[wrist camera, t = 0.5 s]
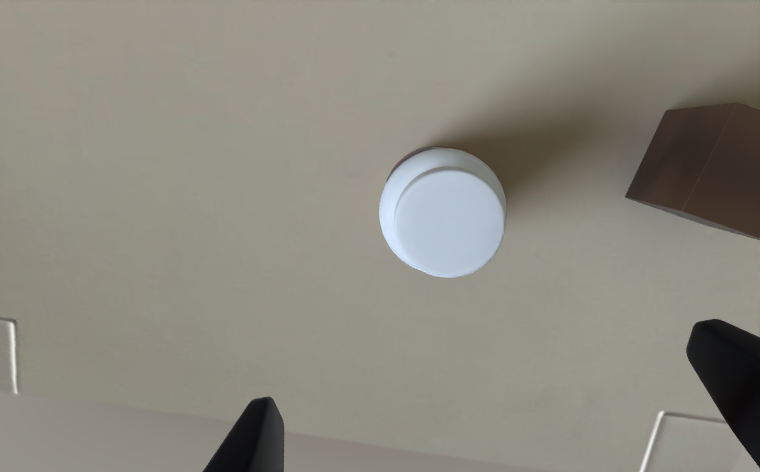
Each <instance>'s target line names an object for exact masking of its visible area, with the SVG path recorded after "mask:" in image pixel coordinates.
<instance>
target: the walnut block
mask: <svg viewBox="0 0 760 472" xmlns="http://www.w3.org/2000/svg"><path fill="white" fill-rule="evenodd" d="M625 197H626V198H628V199H631V200H634V201H637V202H640V203H643V204H646V205H649V206H651V207H654V208H657V209H660V210H663V211H666V212H669V213H672V214H675V215H678V216H680V217H683V218H686V219H689V220H692V221H695V222H698V223H701V224H704V225H707V226H710V227H714V228H718V229H721V230H725V231H728V232H732V233H736V234H739V235H743V236H747V237H750V238H754V239H758V240H760V110H757V109H754V108H752V107H749V106H746V105H743V104H740V103H730V104H721V105H712V106H704V107H695V108H686V109H678V110H669V111H666V112H665V114H664V116H663V118H662V120H661V122H660V124H659V126H658V129H657V131H656V133H655V135H654V137H653V139H652V141H651V143H650V145H649V147H648V150H647V152H646V154H645V156H644V158H643V160H642V162H641V164H640V166H639V169H638V171H637V173H636V175H635V177H634V179H633V181H632V183H631V185H630V187H629V190H628V192H627V194H626V196H625Z"/></svg>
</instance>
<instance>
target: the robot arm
mask: <svg viewBox="0 0 760 472" xmlns="http://www.w3.org/2000/svg"><path fill="white" fill-rule="evenodd" d="M686 353H687V357H688V359H689V361H690V363H691V365H692V366H693V368H694V370H695V371H696V373H697V375H698V376H699V378H700V379H701V381H702V383H703V384H704V386H705V388H706V389H707V391H708V393H709V394H710V396H711V397H712V399H713V401H714V402H715V404H716V406H717V407H718V409H719V411H720V412H721V414H722V416H723V417H724V419H725V420H726V422H727V423H728V425H729V426H730V428H731V429H732V431H733V432H734V434H735V435H736V436H737V438H738V439H739V441H740V442H741V443H742V445H743V446H744V447H745V449H746V450H747V451H748V453H749V454H750V455H751V457H752V458H753V459H754V461H755V462H756V463H757V465H758V466H759V468H760V337H757V336H755V335H753V334H751V333H749V332H746V331H744V330H742V329H740V328H738V327H735V326H733V325H731V324H729V323H727V322H724V321H722V320H718V319H711V320H706V321H700V322H697V323H696V324H695V325H694V326H693V329H692V332H691V335H690V338H689V342H688V345H687V348H686ZM203 472H284V423H283V419H282V417H281V415H280V413H279V410H278V408H277V406H276V404H275V402H274V400H273V398H271V397H263V398H257V399H254V400H252V401H251V402H250V403H249V404H248V406H247V407H246V409H245V410H244V412H243V413H242V415H241V416H240V418H239V419H238V420H237V422H236V423H235V425H234V426H233V428H232V429H231V431H230V432H229V434H228V435H227V437H226V438H225V440H224V441H223V443H222V444H221V446H220V447H219V449H218V450H217V452H216V453H215V454H214V456H213V457H212V459H211V460H210V462H209V463H208V465H207V466H206V468H205V469H204V471H203Z"/></svg>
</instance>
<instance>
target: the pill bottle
mask: <svg viewBox="0 0 760 472" xmlns="http://www.w3.org/2000/svg"><path fill="white" fill-rule="evenodd" d="M506 214H507V207H506V198H505V194H504V191H503V188H502V186H501V183H500V181H499V180H498V178H497V177H496V175H495V174H494V172H493V171H492V170H491V169H490V168H489V167H488V166H487V165H486V164H485V163H484V162H483V161H481V160H480V159H478V158H477V157H475V156H473V155H471V154H469V153H467V152H464V151H461V150H457V149H451V148H443V147H427V148H422V149H418V150H416V151H413V152H411V153H410V154H408V155H406V156H405V157H404V158H403V159H401V160H400V161H399V162H398V163H397V164H396V165H395V167H394V168H393V170H392V171H391V173H390V175H389V177H388V179H387V181H386V184H385V186H384V189H383V192H382V195H381V200H380V205H379V218H380V224H381V228H382V232H383V235H384V237H385V239H386V241H387V243H388V245H389V246H390V248H391V249H392V250H393V252H394V253H395V254H396V255H397V256H398V257H399V258H400V259H401V260H403V261H404V262H405V263H407V264H408V265H410V266H411V267H413V268H416V269H418V270H421V271H423V272H425V273H427V274H430V275H433V276H437V277H445V278H453V277H460V276H464V275H468V274H470V273H473V272H475V271H477V270H478V269H480V268H481V267H483V266H484V265H485V264H486V263H488V262H489V261H490V260H491V259H492V257H493V256H494V255H495V253H496V252H497V250H498V249H499V247H500V245H501V243H502V240H503V237H504V232H505V222H506Z"/></svg>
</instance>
